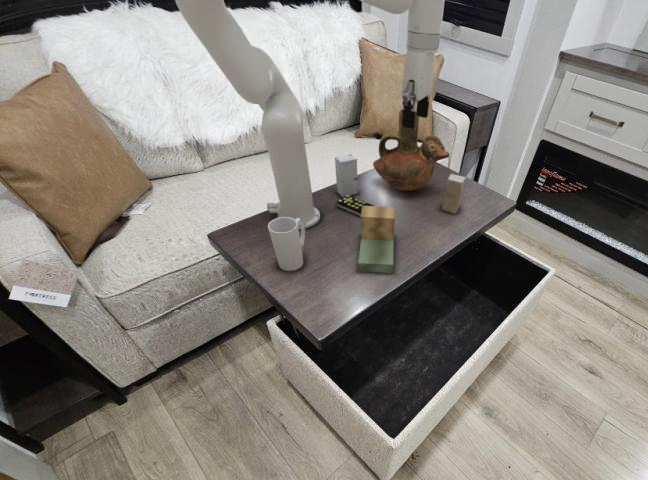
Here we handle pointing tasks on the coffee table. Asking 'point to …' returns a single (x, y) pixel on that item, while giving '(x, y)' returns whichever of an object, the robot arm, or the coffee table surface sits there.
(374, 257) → the wood and green block
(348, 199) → the remote control
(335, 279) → the coffee table surface
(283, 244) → the mug
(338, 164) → the white medicine box
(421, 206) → the coffee table surface
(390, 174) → the ceramic vessel
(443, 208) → the box
